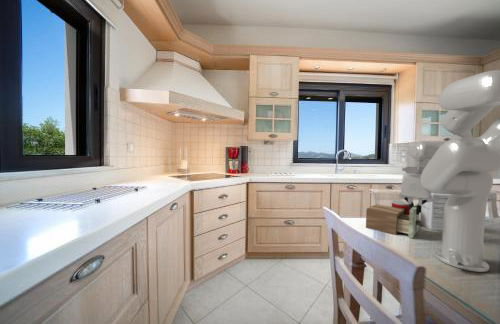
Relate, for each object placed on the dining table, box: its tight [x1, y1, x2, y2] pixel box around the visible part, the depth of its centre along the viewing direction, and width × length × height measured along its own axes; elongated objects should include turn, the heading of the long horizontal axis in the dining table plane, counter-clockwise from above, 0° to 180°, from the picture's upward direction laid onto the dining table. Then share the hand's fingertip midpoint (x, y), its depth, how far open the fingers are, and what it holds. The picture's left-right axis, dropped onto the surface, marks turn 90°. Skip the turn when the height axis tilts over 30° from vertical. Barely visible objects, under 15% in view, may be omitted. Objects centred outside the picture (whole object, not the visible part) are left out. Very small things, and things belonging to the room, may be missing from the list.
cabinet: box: [365, 203, 404, 236], centre depth 102 cm, size 14×12×9 cm
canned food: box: [391, 199, 410, 215], centre depth 108 cm, size 8×8×11 cm
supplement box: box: [419, 193, 451, 232], centre depth 104 cm, size 10×9×17 cm
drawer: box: [397, 203, 422, 239], centre depth 97 cm, size 14×14×12 cm
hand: (414, 213), depth 94 cm, fingers closed
